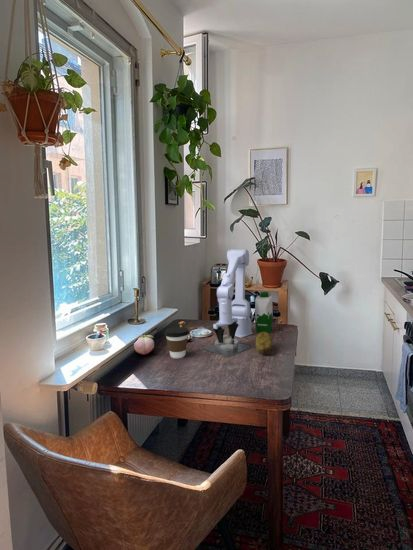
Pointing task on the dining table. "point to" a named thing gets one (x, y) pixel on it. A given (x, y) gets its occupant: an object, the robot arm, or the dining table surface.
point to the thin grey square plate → (226, 348)
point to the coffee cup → (177, 341)
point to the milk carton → (263, 312)
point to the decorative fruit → (144, 344)
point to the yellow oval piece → (263, 343)
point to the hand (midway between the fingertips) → (226, 340)
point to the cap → (227, 339)
